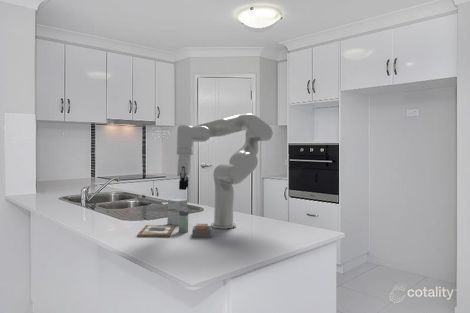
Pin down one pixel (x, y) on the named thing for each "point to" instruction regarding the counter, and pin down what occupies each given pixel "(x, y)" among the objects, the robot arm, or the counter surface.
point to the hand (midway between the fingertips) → (183, 188)
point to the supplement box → (175, 210)
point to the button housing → (201, 232)
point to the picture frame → (156, 231)
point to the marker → (183, 221)
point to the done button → (202, 226)
